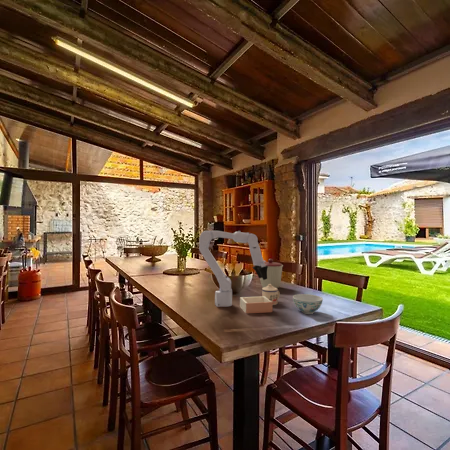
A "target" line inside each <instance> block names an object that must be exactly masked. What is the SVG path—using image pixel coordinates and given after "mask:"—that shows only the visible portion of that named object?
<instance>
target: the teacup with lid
mask: <svg viewBox="0 0 450 450" xmlns="http://www.w3.org/2000/svg"><path fill="white" fill-rule="evenodd" d="M261 293H262V294H261V295H262V296H265V297H266V298H268V299H269V300H270V301H272V306H275V305H278V299H279V298H280V296H281V295H280V290H279V289H278V288H275V287H273V286H272V284H268V286H266V287H262V288H261Z"/></svg>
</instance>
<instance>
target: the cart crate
mask: <svg viewBox="0 0 450 450" xmlns="http://www.w3.org/2000/svg"><path fill="white" fill-rule="evenodd" d="M258 302H272V301H270V300H269V299H268V298H266V297H265V296H261V295H260V296H241V297H239V307H240V308H241V310H242V311H243V312H244V313H245V314H247V313H246V303H258Z"/></svg>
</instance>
